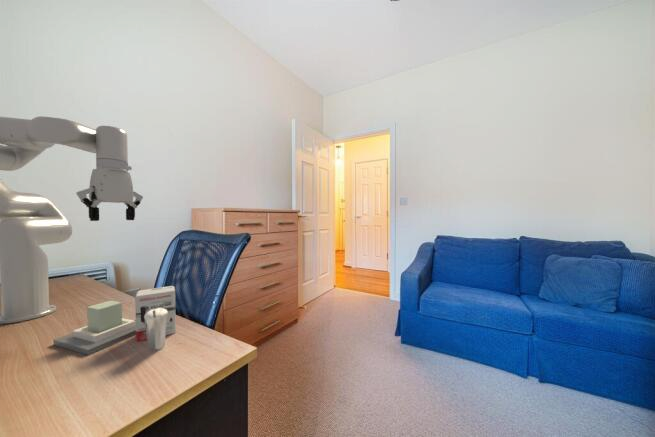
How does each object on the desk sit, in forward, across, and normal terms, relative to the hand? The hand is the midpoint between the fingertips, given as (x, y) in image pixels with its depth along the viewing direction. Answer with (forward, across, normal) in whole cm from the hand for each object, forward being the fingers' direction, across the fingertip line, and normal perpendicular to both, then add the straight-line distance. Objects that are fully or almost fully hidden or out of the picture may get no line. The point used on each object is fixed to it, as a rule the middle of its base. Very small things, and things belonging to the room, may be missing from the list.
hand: (113, 220), depth 77 cm
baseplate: (+30, +10, +14) cm, 35 cm away
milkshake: (+30, +10, +33) cm, 46 cm away
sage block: (+29, +10, +14) cm, 34 cm away
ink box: (+30, +5, +26) cm, 40 cm away
